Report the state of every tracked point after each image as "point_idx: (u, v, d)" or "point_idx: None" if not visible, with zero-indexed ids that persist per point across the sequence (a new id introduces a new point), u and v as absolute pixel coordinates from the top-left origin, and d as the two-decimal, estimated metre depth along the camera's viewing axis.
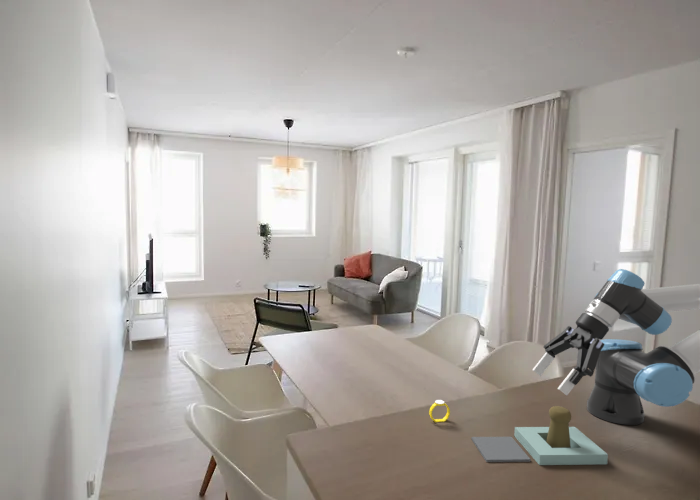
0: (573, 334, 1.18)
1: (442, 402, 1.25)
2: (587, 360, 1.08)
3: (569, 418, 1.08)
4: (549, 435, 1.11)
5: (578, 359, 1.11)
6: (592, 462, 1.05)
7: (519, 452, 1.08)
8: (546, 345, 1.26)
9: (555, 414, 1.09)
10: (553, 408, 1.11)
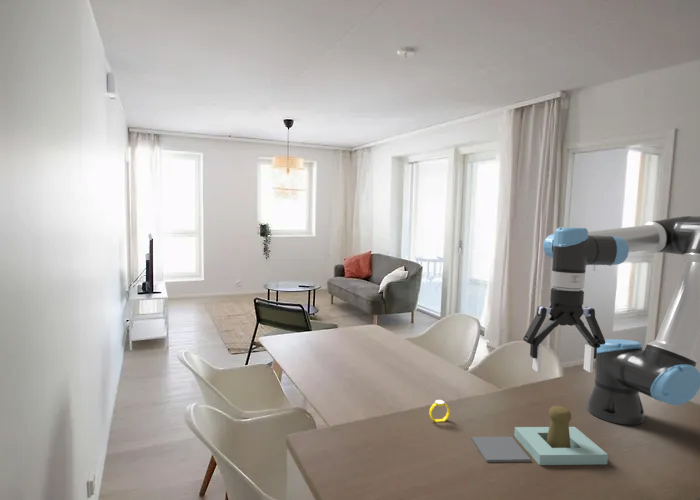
0: (565, 316, 1.07)
1: (442, 402, 1.25)
2: (600, 333, 1.08)
3: (569, 418, 1.08)
4: (549, 435, 1.11)
5: (589, 337, 1.08)
6: (592, 462, 1.05)
7: (519, 452, 1.08)
8: (531, 339, 1.08)
9: (555, 414, 1.09)
10: (553, 408, 1.11)
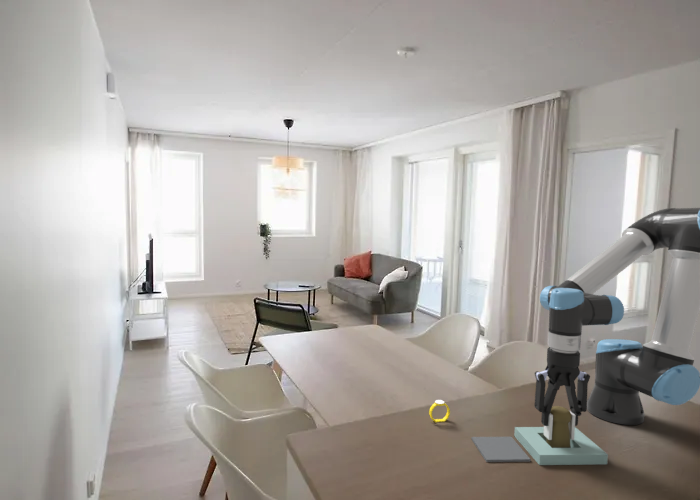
0: (562, 377, 1.08)
1: (442, 402, 1.25)
2: (585, 400, 1.09)
3: (569, 418, 1.08)
4: None
5: (574, 402, 1.09)
6: (592, 462, 1.05)
7: (519, 452, 1.08)
8: (541, 408, 1.09)
9: (555, 414, 1.09)
10: (553, 408, 1.11)
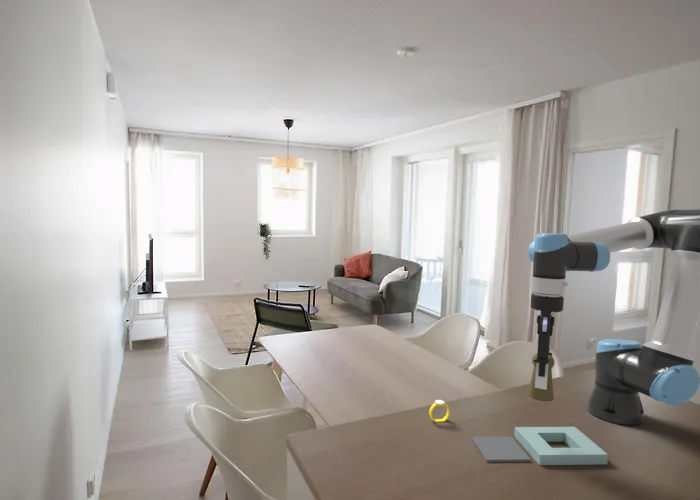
0: None
1: (442, 402, 1.25)
2: None
3: None
4: None
5: (549, 344, 1.11)
6: (592, 462, 1.05)
7: (519, 452, 1.08)
8: None
9: (549, 361, 1.07)
10: None
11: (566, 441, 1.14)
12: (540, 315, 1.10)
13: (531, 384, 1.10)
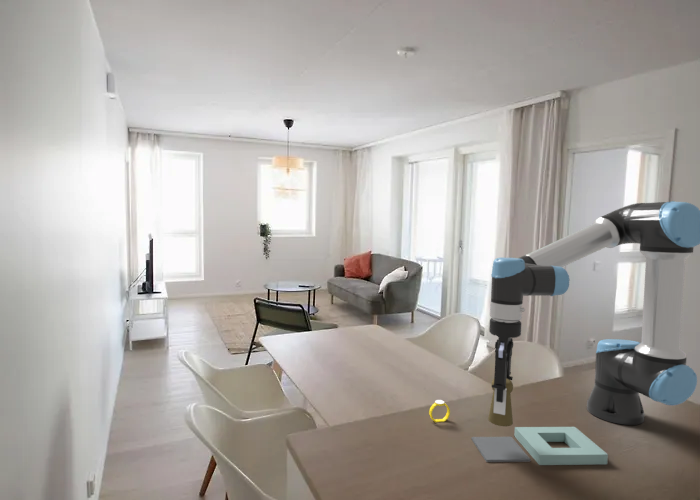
0: (511, 347, 1.07)
1: (442, 402, 1.25)
2: (510, 363, 1.14)
3: None
4: None
5: (509, 368, 1.11)
6: (592, 462, 1.05)
7: (519, 452, 1.08)
8: (504, 385, 1.04)
9: (507, 386, 1.07)
10: None
11: (566, 441, 1.14)
12: None
13: (490, 408, 1.10)
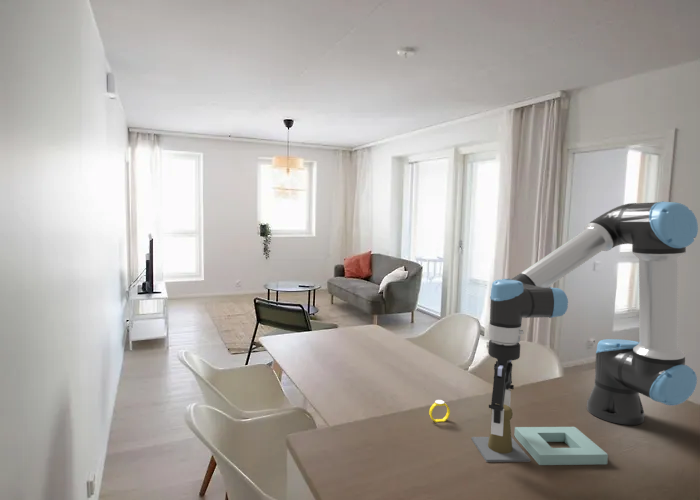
0: (510, 370, 1.07)
1: (442, 402, 1.25)
2: (511, 374, 1.16)
3: None
4: (499, 437, 1.08)
5: (510, 381, 1.14)
6: (592, 462, 1.05)
7: (519, 452, 1.08)
8: (502, 406, 1.01)
9: (506, 413, 1.07)
10: None
11: (566, 441, 1.14)
12: None
13: (490, 435, 1.10)
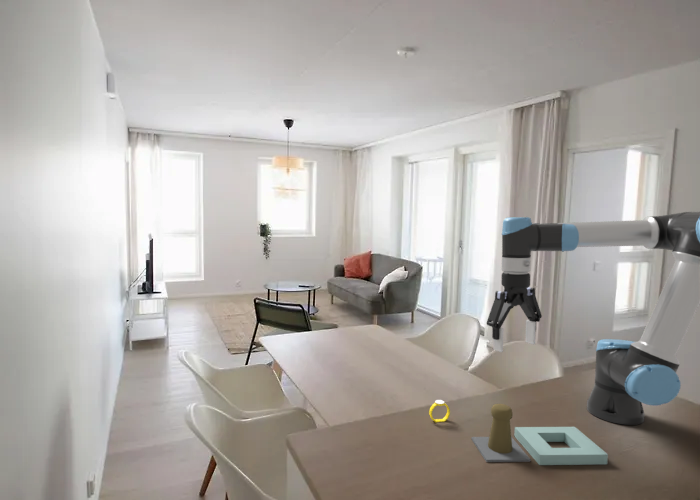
0: (518, 297, 1.18)
1: (442, 402, 1.25)
2: (538, 308, 1.24)
3: None
4: (499, 437, 1.08)
5: (532, 313, 1.23)
6: (592, 462, 1.05)
7: (519, 452, 1.08)
8: (495, 323, 1.15)
9: (506, 413, 1.07)
10: (499, 408, 1.09)
11: (566, 441, 1.14)
12: None
13: (490, 435, 1.10)
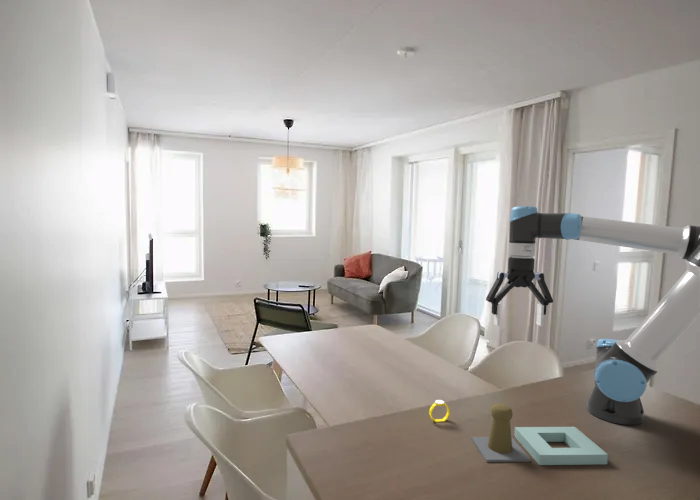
0: (519, 279, 1.30)
1: (442, 402, 1.25)
2: (548, 293, 1.32)
3: None
4: (499, 437, 1.08)
5: (539, 296, 1.32)
6: (592, 462, 1.05)
7: (519, 452, 1.08)
8: (491, 299, 1.31)
9: (506, 413, 1.07)
10: (499, 408, 1.09)
11: (566, 441, 1.14)
12: None
13: (490, 435, 1.10)
